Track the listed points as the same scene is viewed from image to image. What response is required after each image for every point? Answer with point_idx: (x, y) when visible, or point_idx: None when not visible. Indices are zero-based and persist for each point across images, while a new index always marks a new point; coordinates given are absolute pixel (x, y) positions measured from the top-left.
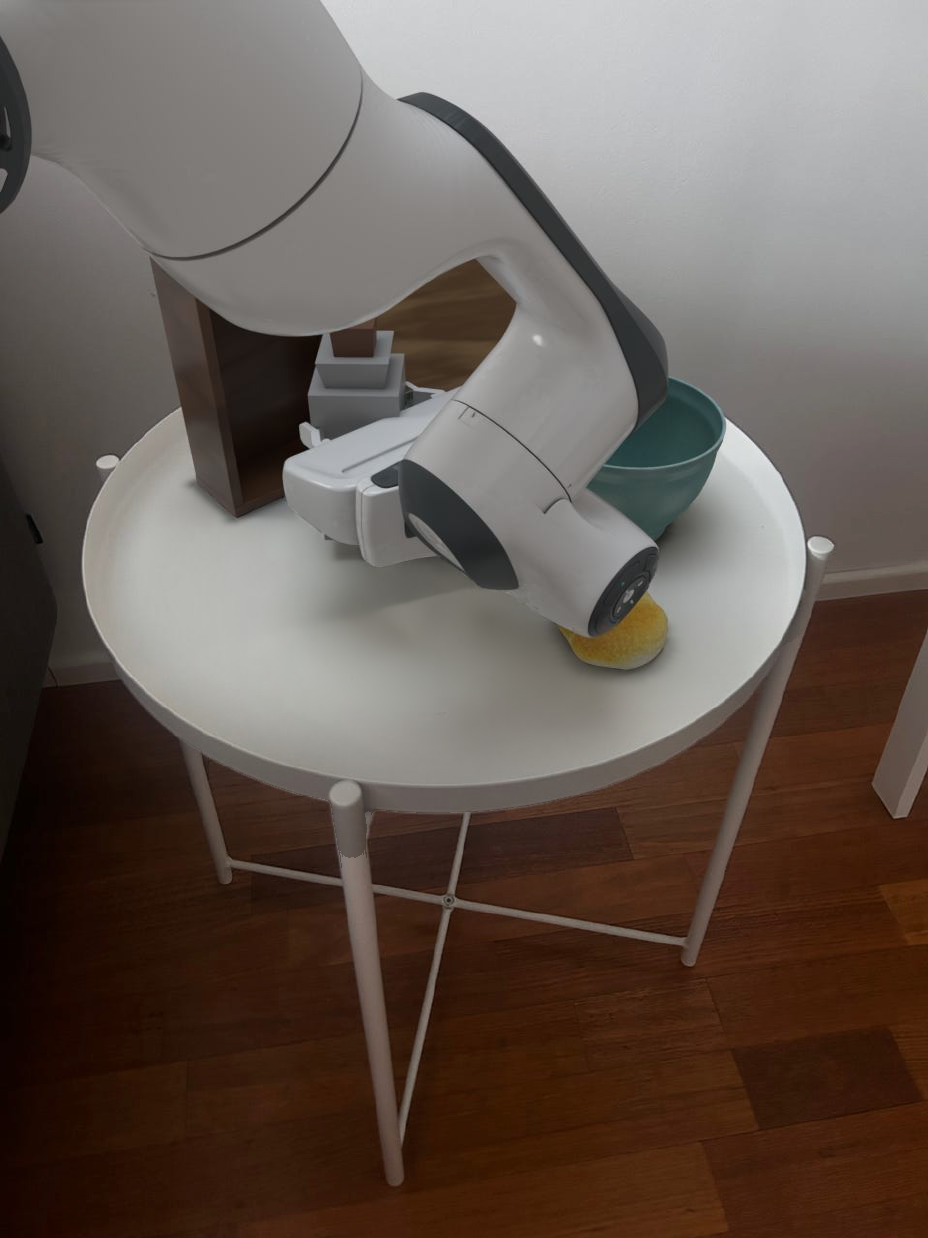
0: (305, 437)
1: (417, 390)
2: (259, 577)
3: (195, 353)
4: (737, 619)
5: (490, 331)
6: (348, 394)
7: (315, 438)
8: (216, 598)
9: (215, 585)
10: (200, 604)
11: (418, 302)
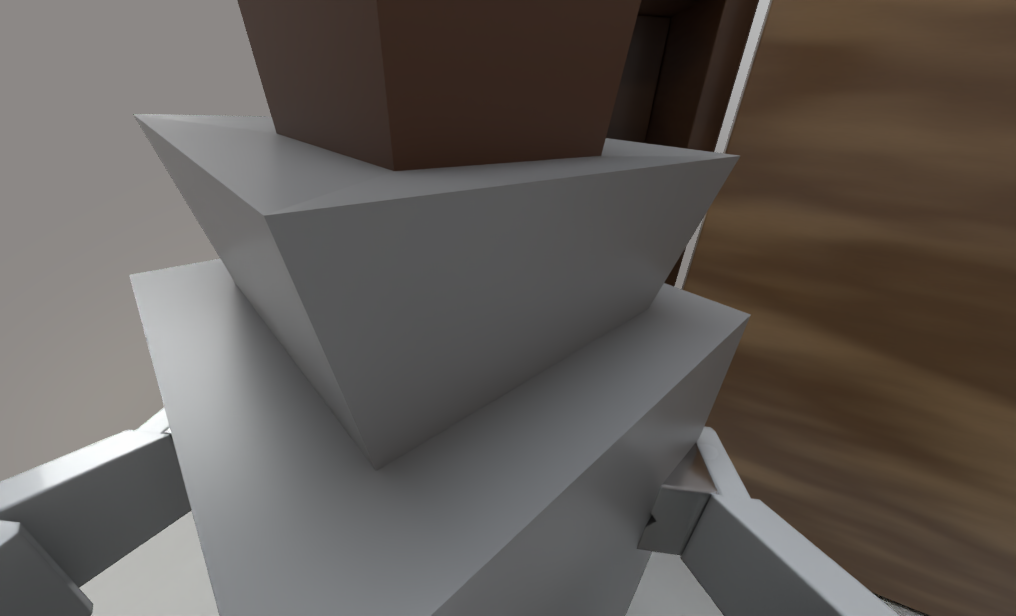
0: None
1: (736, 511)
2: (207, 607)
3: None
4: None
5: None
6: (183, 362)
7: (33, 480)
8: (109, 596)
9: (159, 559)
10: (82, 587)
11: (868, 232)
